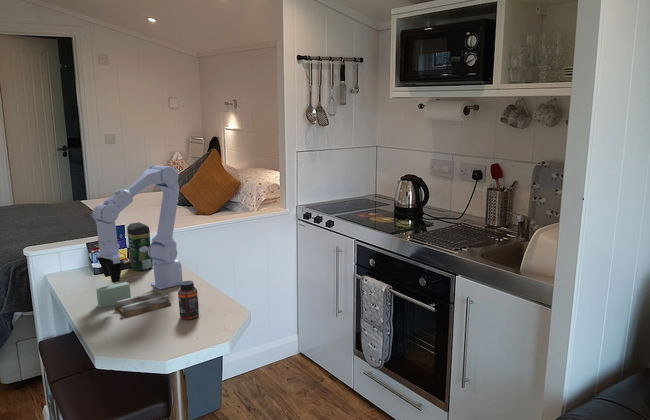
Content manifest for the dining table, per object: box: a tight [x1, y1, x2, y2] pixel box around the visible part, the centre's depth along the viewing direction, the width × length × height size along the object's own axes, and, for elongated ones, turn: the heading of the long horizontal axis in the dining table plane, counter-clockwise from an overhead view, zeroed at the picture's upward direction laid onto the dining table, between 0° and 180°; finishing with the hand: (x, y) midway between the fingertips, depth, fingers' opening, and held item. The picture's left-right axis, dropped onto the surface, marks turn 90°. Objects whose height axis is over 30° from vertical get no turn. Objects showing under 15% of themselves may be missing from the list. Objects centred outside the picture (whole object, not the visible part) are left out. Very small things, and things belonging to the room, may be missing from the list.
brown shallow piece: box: [114, 289, 172, 318], centre depth 174 cm, size 15×10×3 cm, turn 129°
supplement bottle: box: [177, 280, 200, 321], centre depth 164 cm, size 6×6×11 cm
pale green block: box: [95, 281, 132, 309], centre depth 177 cm, size 10×3×6 cm, turn 129°
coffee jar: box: [126, 221, 154, 272], centre depth 212 cm, size 10×8×19 cm
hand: (112, 279), depth 176 cm, fingers open, 7 cm apart
